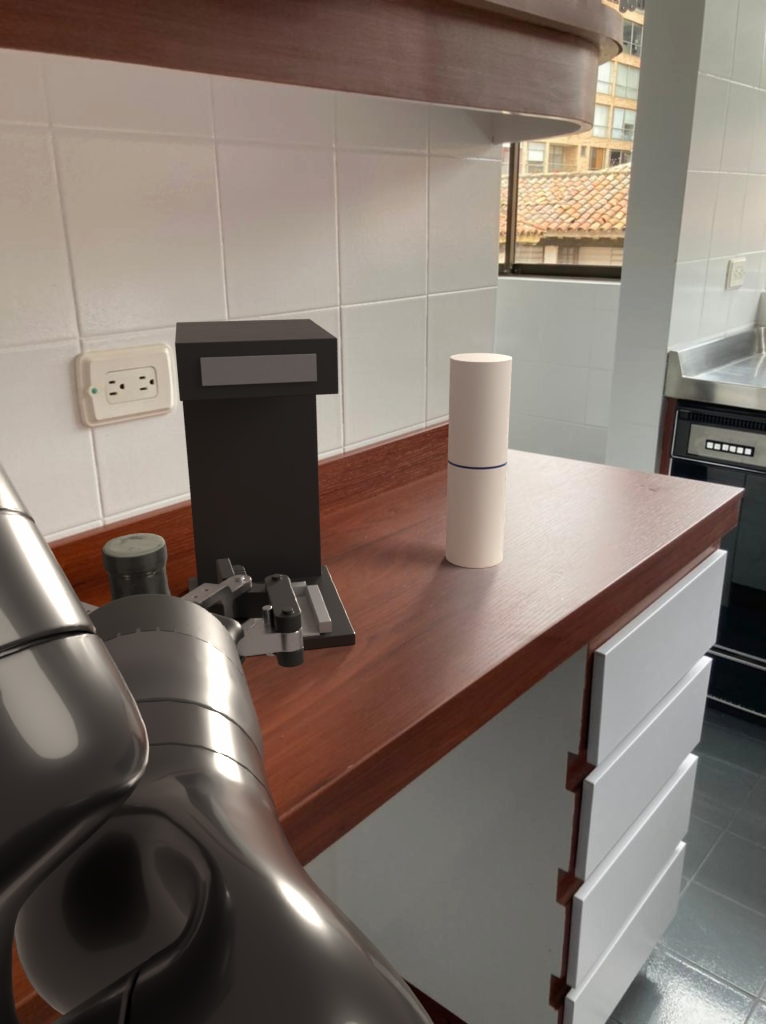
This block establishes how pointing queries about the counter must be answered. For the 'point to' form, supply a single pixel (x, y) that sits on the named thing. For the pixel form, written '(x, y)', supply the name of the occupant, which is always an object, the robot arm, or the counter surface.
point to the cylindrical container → (477, 458)
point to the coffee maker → (260, 457)
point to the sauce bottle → (136, 565)
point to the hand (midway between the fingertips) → (143, 585)
